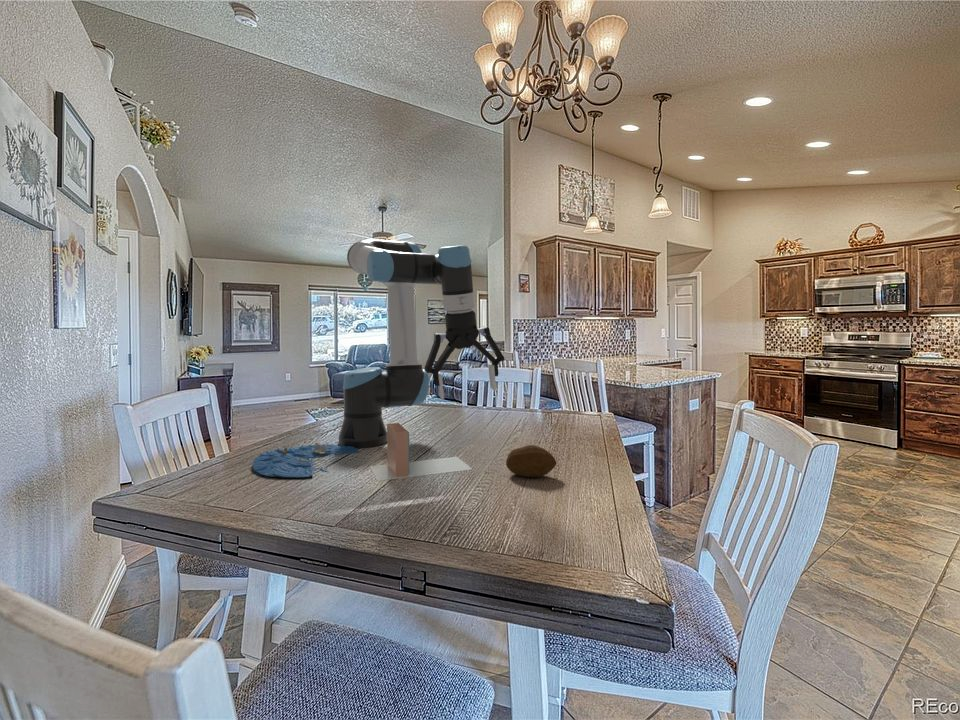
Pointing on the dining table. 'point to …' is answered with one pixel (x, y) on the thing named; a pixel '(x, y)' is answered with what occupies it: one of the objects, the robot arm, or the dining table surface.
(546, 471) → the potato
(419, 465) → the grey rubber mat
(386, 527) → the dining table surface
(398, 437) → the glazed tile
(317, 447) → the decorative plate
